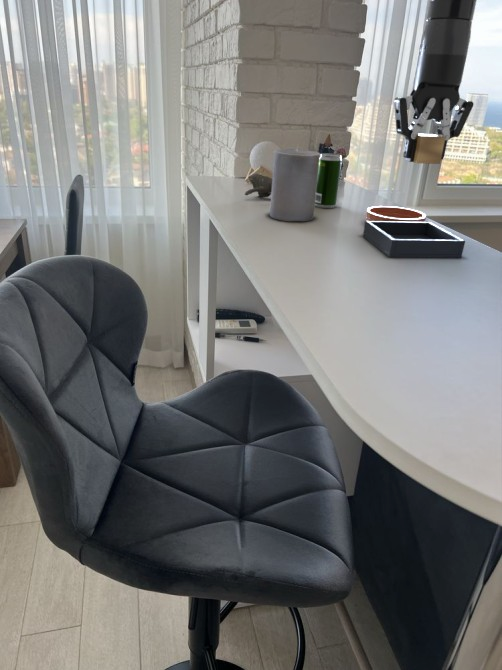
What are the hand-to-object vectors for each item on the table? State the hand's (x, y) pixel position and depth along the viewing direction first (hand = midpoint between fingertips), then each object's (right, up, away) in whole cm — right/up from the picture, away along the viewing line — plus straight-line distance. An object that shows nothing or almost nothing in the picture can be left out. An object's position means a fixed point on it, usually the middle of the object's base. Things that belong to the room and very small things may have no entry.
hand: (422, 161), depth 91 cm
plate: (0, -8, +18) cm, 19 cm away
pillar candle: (-22, -5, +21) cm, 31 cm away
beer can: (-13, 0, +33) cm, 36 cm away
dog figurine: (-27, +3, +38) cm, 46 cm away
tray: (-1, -15, +4) cm, 15 cm away
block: (0, 0, 0) cm, 0 cm away
